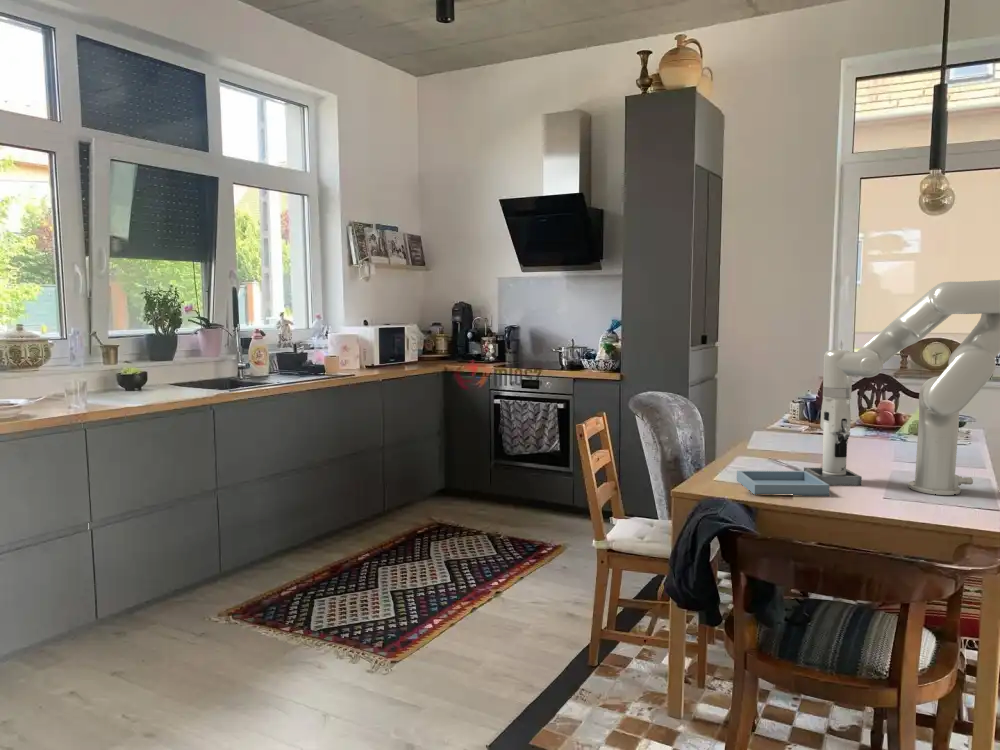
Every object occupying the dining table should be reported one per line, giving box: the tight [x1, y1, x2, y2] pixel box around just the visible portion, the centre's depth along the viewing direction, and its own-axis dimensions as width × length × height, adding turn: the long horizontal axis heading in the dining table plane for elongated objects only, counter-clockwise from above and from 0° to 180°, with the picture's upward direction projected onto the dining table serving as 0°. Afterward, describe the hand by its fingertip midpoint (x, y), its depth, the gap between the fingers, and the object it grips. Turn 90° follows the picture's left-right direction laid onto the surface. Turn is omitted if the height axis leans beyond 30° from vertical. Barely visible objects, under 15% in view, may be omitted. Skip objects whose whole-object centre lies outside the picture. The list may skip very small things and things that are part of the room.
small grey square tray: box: [803, 467, 863, 486], centre depth 217 cm, size 12×11×2 cm
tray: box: [736, 470, 831, 497], centre depth 208 cm, size 20×16×3 cm
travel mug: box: [822, 412, 847, 476], centre depth 216 cm, size 6×7×20 cm
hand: (835, 454), depth 216 cm, fingers closed on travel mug, 6 cm apart
